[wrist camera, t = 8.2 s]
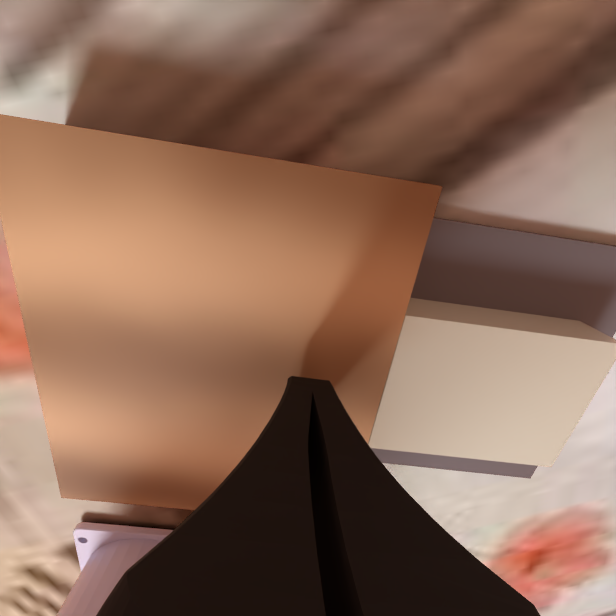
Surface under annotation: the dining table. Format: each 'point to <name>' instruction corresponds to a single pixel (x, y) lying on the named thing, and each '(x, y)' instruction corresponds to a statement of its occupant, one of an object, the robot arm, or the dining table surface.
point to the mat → (511, 295)
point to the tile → (488, 383)
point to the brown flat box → (195, 298)
